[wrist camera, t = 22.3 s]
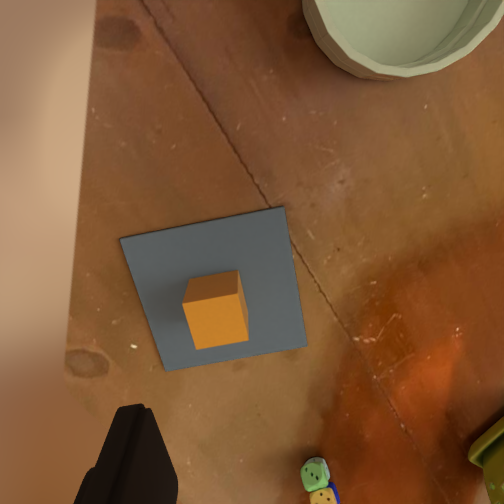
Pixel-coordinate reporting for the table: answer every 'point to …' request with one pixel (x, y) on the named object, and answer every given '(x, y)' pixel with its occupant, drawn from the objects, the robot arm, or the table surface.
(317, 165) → the table surface
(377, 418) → the table surface
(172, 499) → the robot arm
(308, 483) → the dice
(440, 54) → the celadon bowl
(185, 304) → the cube
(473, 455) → the flower pot
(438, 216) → the table surface
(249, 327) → the mat
